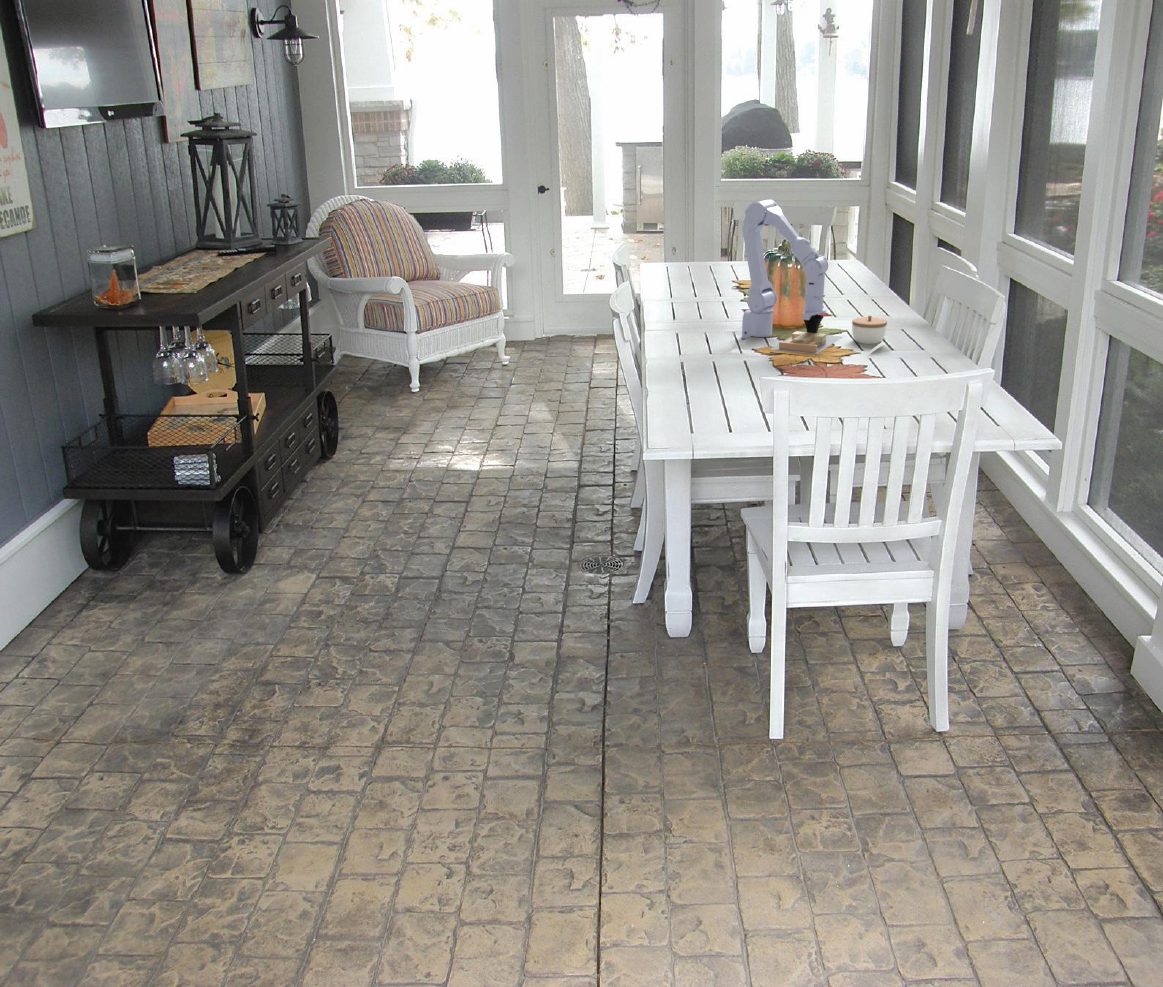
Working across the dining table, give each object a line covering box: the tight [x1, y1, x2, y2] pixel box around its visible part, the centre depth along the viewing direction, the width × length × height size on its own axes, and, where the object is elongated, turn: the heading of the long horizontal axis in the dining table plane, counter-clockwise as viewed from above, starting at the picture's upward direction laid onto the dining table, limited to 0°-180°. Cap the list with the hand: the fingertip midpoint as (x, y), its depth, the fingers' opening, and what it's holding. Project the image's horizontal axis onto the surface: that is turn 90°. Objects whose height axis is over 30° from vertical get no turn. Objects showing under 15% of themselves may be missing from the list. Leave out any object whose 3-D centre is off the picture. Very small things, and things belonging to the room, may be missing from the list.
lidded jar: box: [851, 314, 888, 347], centre depth 354 cm, size 11×11×9 cm
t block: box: [791, 330, 827, 346], centre depth 350 cm, size 10×11×3 cm
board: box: [769, 334, 843, 356], centre depth 353 cm, size 15×26×3 cm, turn 150°
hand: (811, 338), depth 355 cm, fingers closed
